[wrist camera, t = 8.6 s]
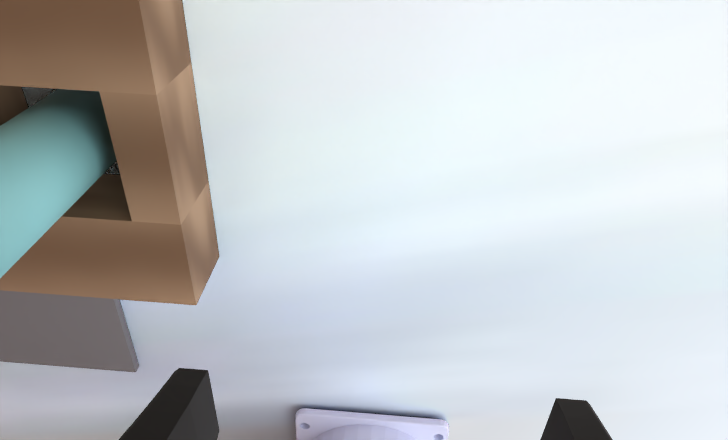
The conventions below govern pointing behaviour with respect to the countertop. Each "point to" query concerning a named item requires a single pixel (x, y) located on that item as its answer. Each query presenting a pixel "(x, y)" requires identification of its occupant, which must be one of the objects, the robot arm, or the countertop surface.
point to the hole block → (118, 149)
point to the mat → (65, 331)
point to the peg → (48, 165)
